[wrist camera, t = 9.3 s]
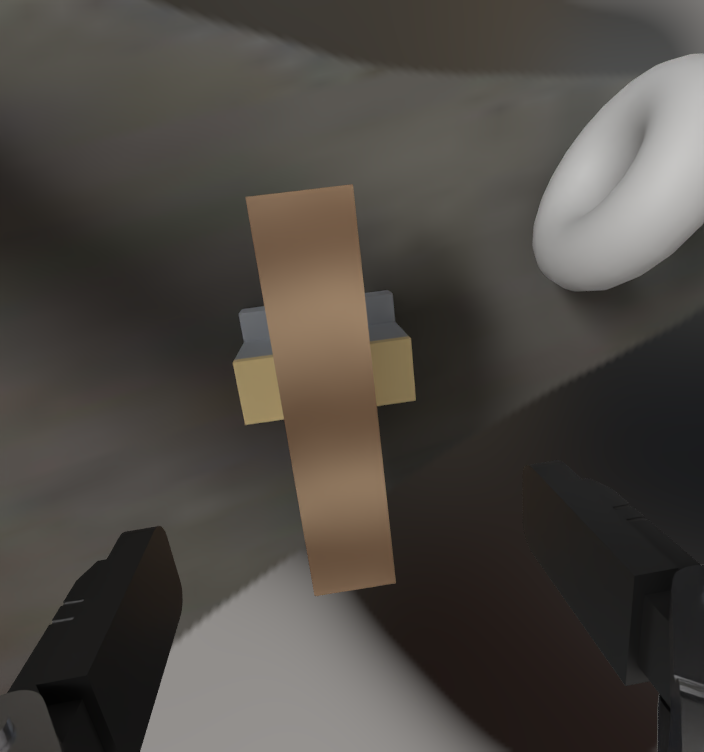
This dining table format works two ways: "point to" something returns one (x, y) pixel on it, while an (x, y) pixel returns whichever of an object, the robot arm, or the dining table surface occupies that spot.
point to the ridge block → (386, 353)
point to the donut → (627, 183)
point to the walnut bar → (325, 381)
